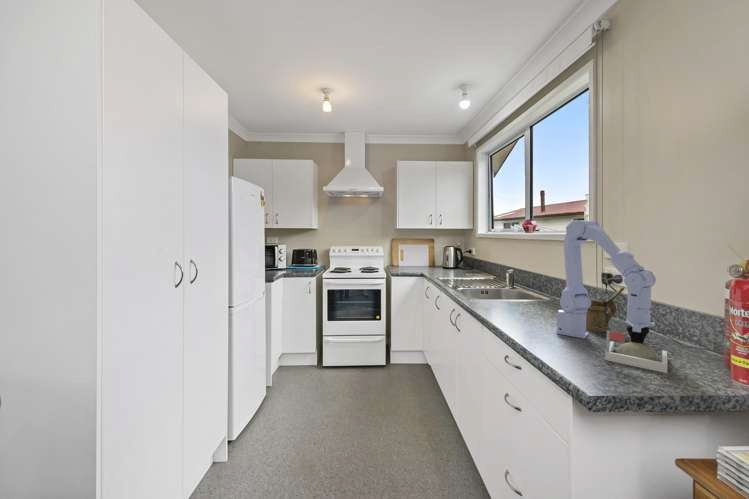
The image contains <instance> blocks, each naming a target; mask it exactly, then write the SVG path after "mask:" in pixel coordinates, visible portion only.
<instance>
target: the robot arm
mask: <svg viewBox="0 0 749 499" xmlns="http://www.w3.org/2000/svg"><path fill="white" fill-rule="evenodd" d="M565 232H566V234H565V236H564V240H563V251H564V252H563V254H564V268H565V269H564V270H565V283H566V284H565V285H566V286H565V288H564V289H563V290H562V291H561V296H560V300H559V304H560V307H561V308H562V309H558V311H557V314H556V316H557V317H556V334H557V335H563V336H568V337H574V338H579V339H584V340H585V339H587V336H588V335H589V332H587V330H586V312H587V309H589V308H590V306H591V301H592V300H591V298H590V296H589V291H588V290H587V288H586V287H584V278H583V277H584V276H583V264H582V250H581V247H582V245H583V244H584V243H585V242H586V241H588V240H591V241H594V242H595V243H596V244H597V245H598V246H599V247H600V248H601V249H602V251H604V252H606V254H607V255H608V256H609V257H610V264H611V265H612V266H614V268H615V269H616V270H617V271H618V273H619V274H621V276H622V277H623V282H624V284H625V285H626V287H627V302H626V303H627V306H626V309H627V310H626V319H625V322H626V324H628V325H626V327H625V328H626V330H627V333H628V334H629V337H630V338H629V339H630V342H634V343H641V344H643V345H644V341H645V339H646V337H647V335H648V334H649V332H650V327H655V323H654V322H650V321H651V301H652V300H651V299H652V287H654V285H655V284H656V275H655V274H654V273H653V272H652V271H651V270H647V269H645V267H644V266H643V265H640V264H639V263H638V262H637V261H636V260H635V258H634V255H633V254H632V253H629V252H627V251H622V250H621V249H620V247H618V246H617V244H616V243H615V242H614V241H613V240H612V239H611V237H610V236H609V235H608V234H607V233H606V231H605V229H604V226H602V225H600V223H599V222H598V221H597V220H593V219H591V220H586V219H584V220H583V219H582V220H580V219H574V220H572V221H571V222H569V223H568V225H566V226H565Z"/></svg>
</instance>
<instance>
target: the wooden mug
mask: <svg viewBox="0 0 749 499" xmlns="http://www.w3.org/2000/svg"><path fill="white" fill-rule="evenodd" d="M624 290H625V287H622V288H621V287H620V288H619V289H618V290H617V291H616V292H615V293H614V294H613V295H612V296H611V297H610V298H609V300H604V301H599V300H591V306H590V308H589V309H587V312H586V331H591V332H597V333H607V331H610V327H609V324H610V323H609V322H610V320H611V319H612V318H613V317H614V316H615V315H616V313H617V312H616V311H617V305H616V303H615V302H614V300H615V299H616V298H617V297H619V295H620V294H621V293H622V292H623V291H624ZM608 308H609V309H610V311H609V312H608V313H607V310H608Z"/></svg>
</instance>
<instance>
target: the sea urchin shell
mask: <svg viewBox="0 0 749 499" xmlns="http://www.w3.org/2000/svg"><path fill="white" fill-rule="evenodd" d="M617 353H618V354H623V355H628V356H633V357H638V358H643V359H648V360H653V361H657V354H656V351H655V350H653V349H652V348H650V346H647V345H645V344H644V343H643V344H641V343H634V342H631V341H629V342H624V343H622V344H621V345H619V346H618V348H617Z"/></svg>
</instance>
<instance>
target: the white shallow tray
mask: <svg viewBox="0 0 749 499" xmlns="http://www.w3.org/2000/svg"><path fill="white" fill-rule="evenodd" d="M605 338H606V341H605V342H606V343H605V352H604V353H605V355H604V356H605V357H604V360H605V361H607V362H613V363H617V364H622V365H627V366H631V367H635V368H641V369H646V370H650V371H655V372H659V373H664V374H668V351H666V350H662V351H661V361H657V360H656V361H653V360H648V359H643V358H638V357H633V356H628V355H623V354H618V352H614V349H615V342H614V341H617V342H624V343H626V334H625V333H624V332H616V331H610V330H608V331H607V332H606V337H605Z"/></svg>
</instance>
